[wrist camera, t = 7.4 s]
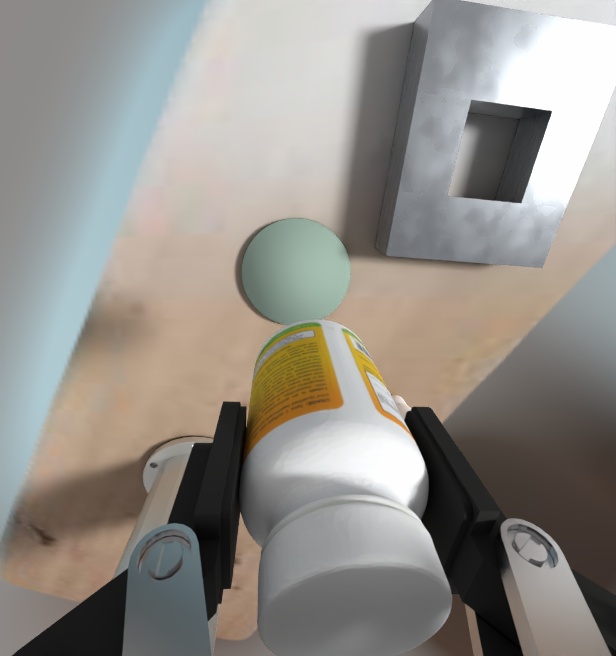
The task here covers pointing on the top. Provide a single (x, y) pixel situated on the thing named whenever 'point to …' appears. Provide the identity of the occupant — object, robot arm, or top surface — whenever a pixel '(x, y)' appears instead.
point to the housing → (497, 100)
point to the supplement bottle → (336, 503)
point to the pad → (295, 271)
